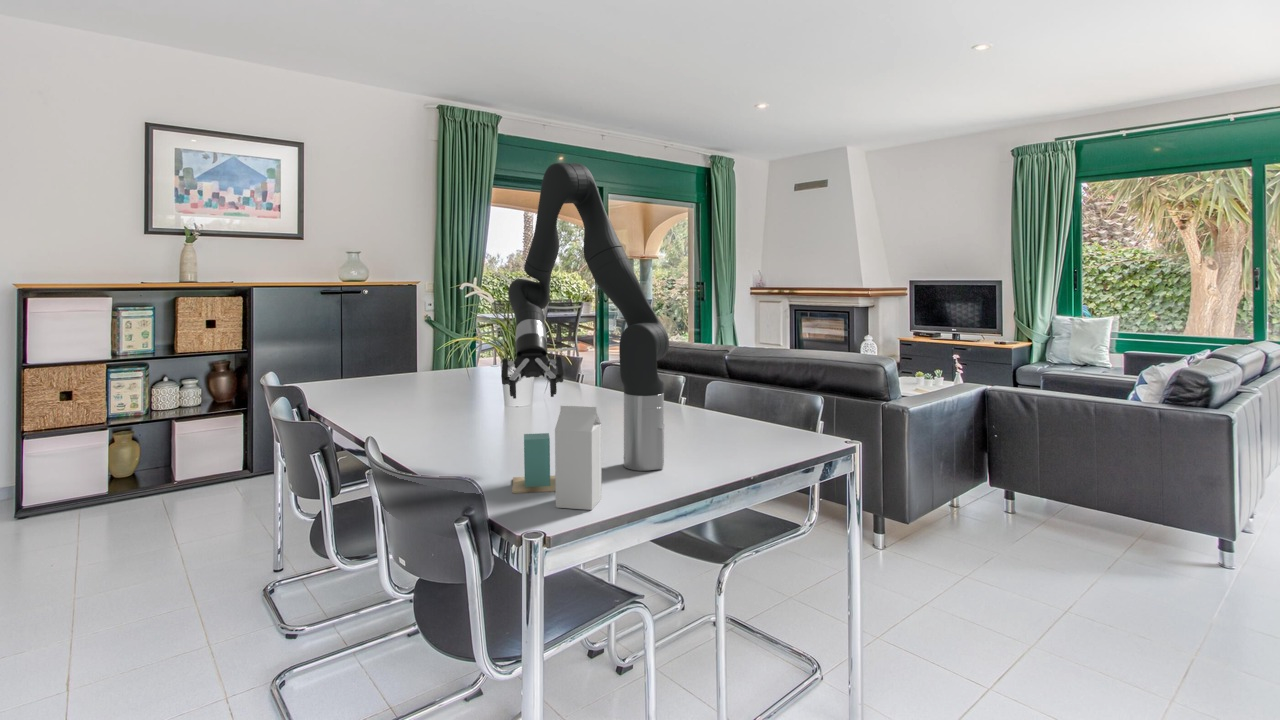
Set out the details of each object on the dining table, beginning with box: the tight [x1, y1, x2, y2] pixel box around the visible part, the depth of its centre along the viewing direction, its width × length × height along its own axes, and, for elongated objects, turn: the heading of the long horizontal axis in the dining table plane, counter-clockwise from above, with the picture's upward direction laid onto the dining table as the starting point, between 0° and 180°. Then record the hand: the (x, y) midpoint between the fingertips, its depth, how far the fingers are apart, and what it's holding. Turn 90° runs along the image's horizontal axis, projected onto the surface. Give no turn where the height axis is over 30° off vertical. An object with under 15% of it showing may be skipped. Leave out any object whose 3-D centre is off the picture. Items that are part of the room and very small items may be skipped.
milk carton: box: [554, 404, 603, 511], centre depth 127 cm, size 7×7×19 cm
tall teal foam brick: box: [523, 432, 551, 487], centre depth 140 cm, size 5×5×10 cm
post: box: [512, 475, 556, 494], centre depth 140 cm, size 10×10×8 cm
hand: (533, 395), depth 152 cm, fingers open, 8 cm apart
